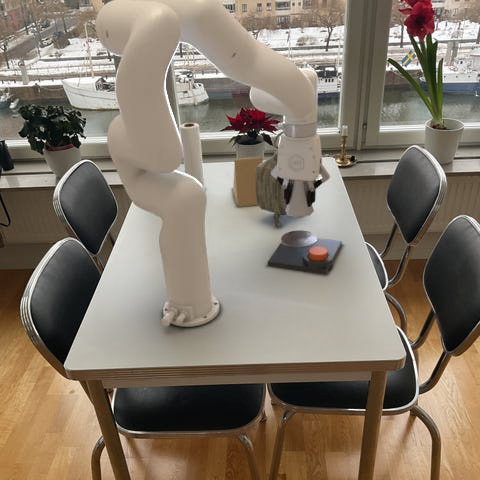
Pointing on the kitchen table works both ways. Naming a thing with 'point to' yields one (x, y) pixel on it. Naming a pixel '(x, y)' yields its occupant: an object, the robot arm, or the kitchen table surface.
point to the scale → (305, 257)
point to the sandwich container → (245, 181)
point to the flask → (299, 201)
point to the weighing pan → (299, 239)
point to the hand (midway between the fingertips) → (299, 202)
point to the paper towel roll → (192, 151)
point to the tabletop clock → (271, 187)
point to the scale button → (318, 253)
